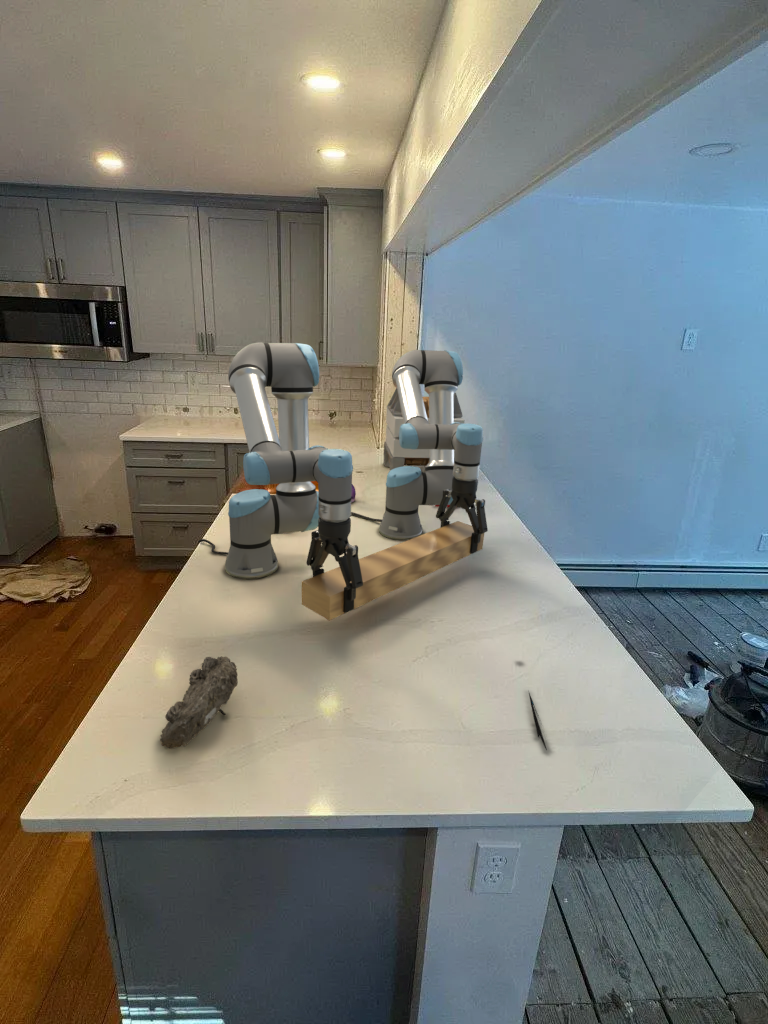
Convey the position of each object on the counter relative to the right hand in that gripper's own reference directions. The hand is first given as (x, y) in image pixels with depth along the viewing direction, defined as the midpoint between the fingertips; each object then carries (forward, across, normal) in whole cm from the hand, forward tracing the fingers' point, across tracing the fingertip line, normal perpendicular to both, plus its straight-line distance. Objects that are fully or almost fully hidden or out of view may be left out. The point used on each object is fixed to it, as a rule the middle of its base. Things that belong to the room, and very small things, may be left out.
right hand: (458, 546), depth 174 cm
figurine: (+7, -68, +16) cm, 70 cm away
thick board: (0, 0, -26) cm, 26 cm away
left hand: (0, 0, -51) cm, 51 cm away
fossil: (+6, +7, -90) cm, 91 cm away
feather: (+6, +50, -42) cm, 65 cm away
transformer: (+8, -76, +73) cm, 106 cm away
